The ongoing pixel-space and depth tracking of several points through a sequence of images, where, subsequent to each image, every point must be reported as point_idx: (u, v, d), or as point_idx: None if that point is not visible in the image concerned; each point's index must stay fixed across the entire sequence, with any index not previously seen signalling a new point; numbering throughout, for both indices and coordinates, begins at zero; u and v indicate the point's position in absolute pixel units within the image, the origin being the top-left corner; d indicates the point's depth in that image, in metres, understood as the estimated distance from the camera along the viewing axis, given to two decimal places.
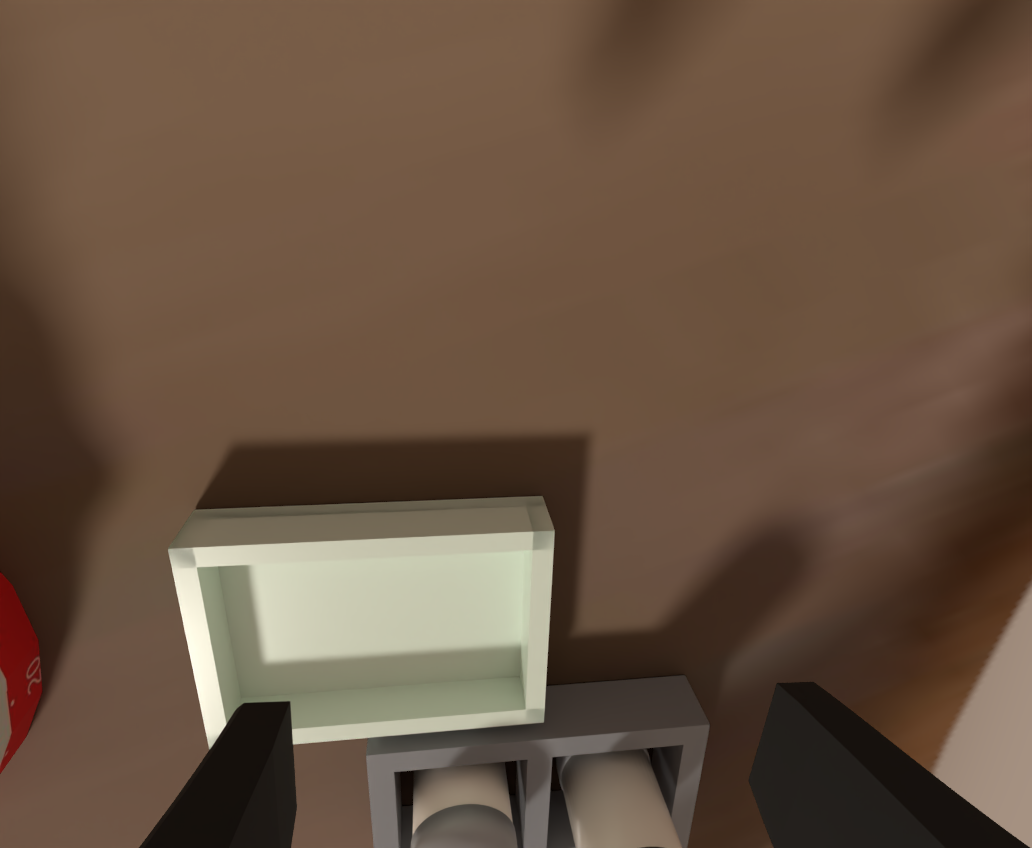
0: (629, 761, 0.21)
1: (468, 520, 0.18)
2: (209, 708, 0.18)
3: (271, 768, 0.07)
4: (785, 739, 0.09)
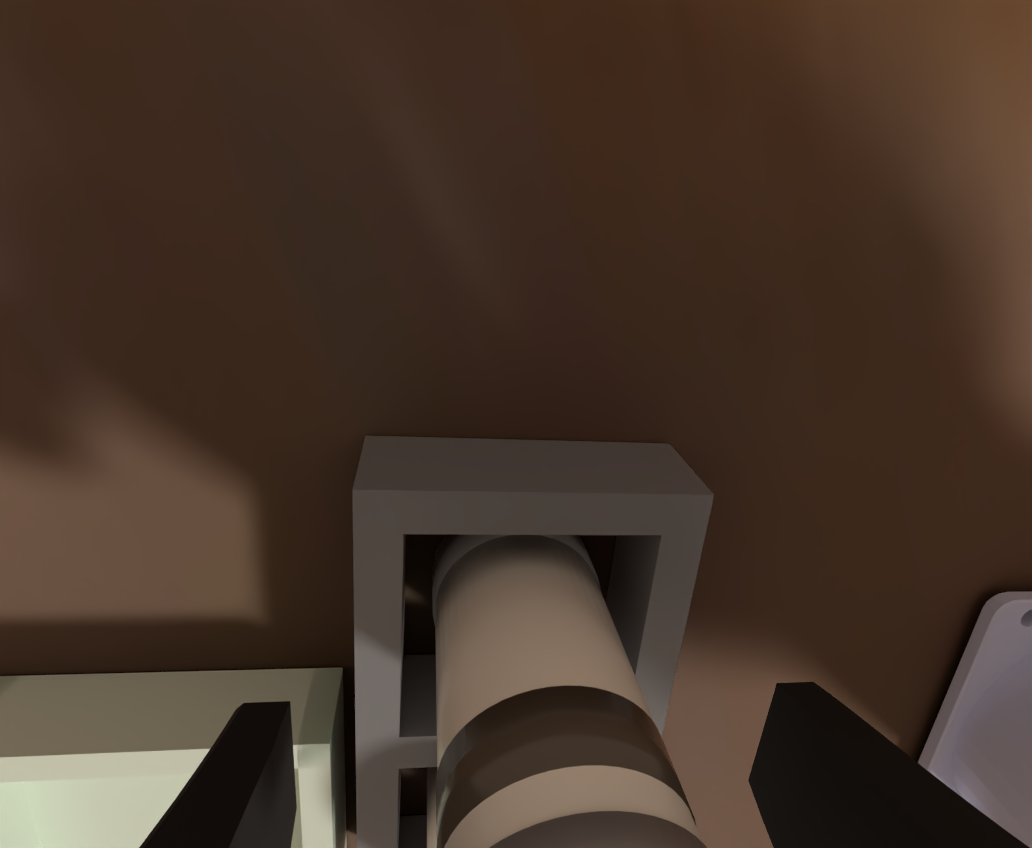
0: (442, 615, 0.11)
1: None
2: None
3: (271, 768, 0.07)
4: (785, 739, 0.09)
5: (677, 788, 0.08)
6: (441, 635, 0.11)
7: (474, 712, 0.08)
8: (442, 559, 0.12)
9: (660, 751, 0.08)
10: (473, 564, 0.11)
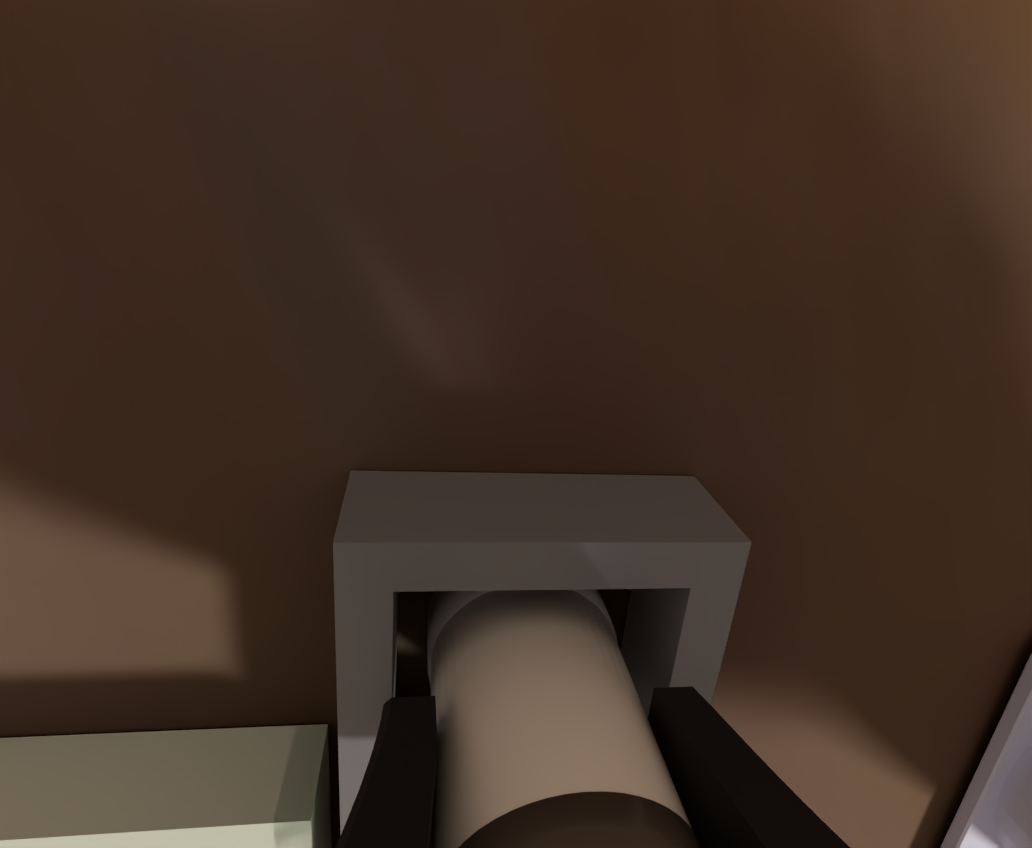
0: (438, 679, 0.10)
1: None
2: None
3: None
4: (660, 746, 0.09)
5: None
6: (437, 706, 0.09)
7: (477, 822, 0.07)
8: (439, 609, 0.11)
9: None
10: (474, 620, 0.10)
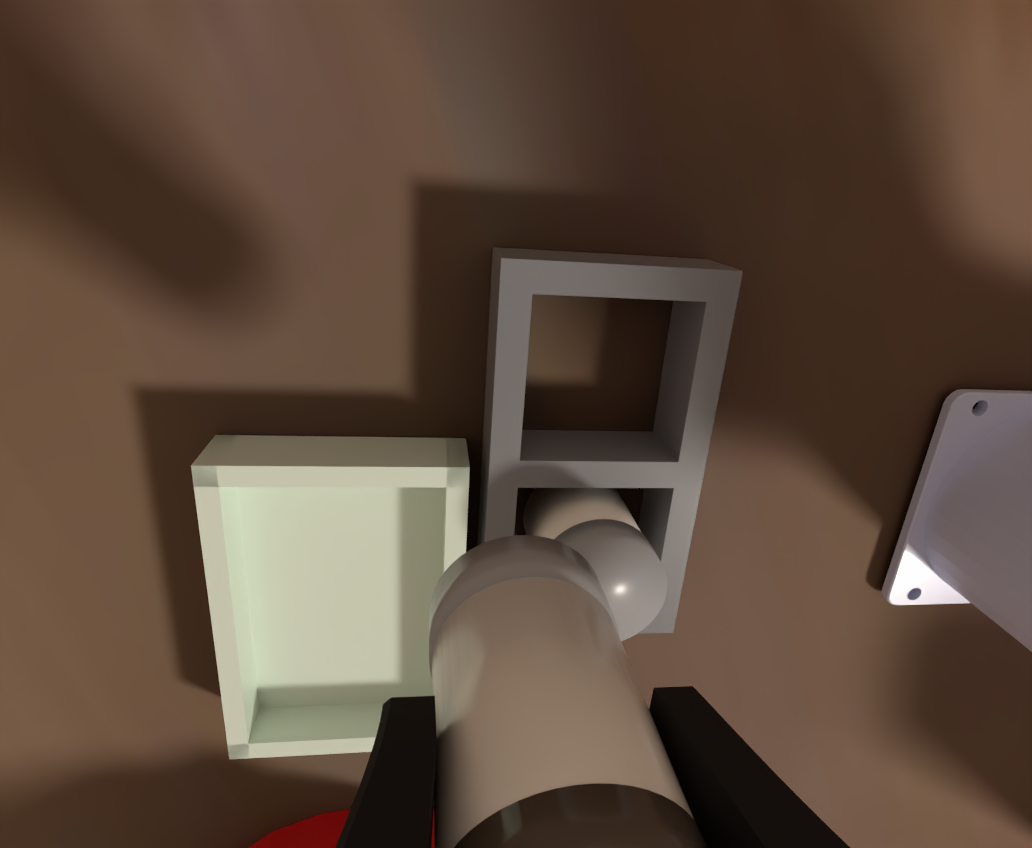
0: (441, 671, 0.10)
1: None
2: None
3: (435, 759, 0.08)
4: None
5: None
6: (440, 697, 0.09)
7: (484, 812, 0.07)
8: (442, 601, 0.11)
9: None
10: (478, 612, 0.10)
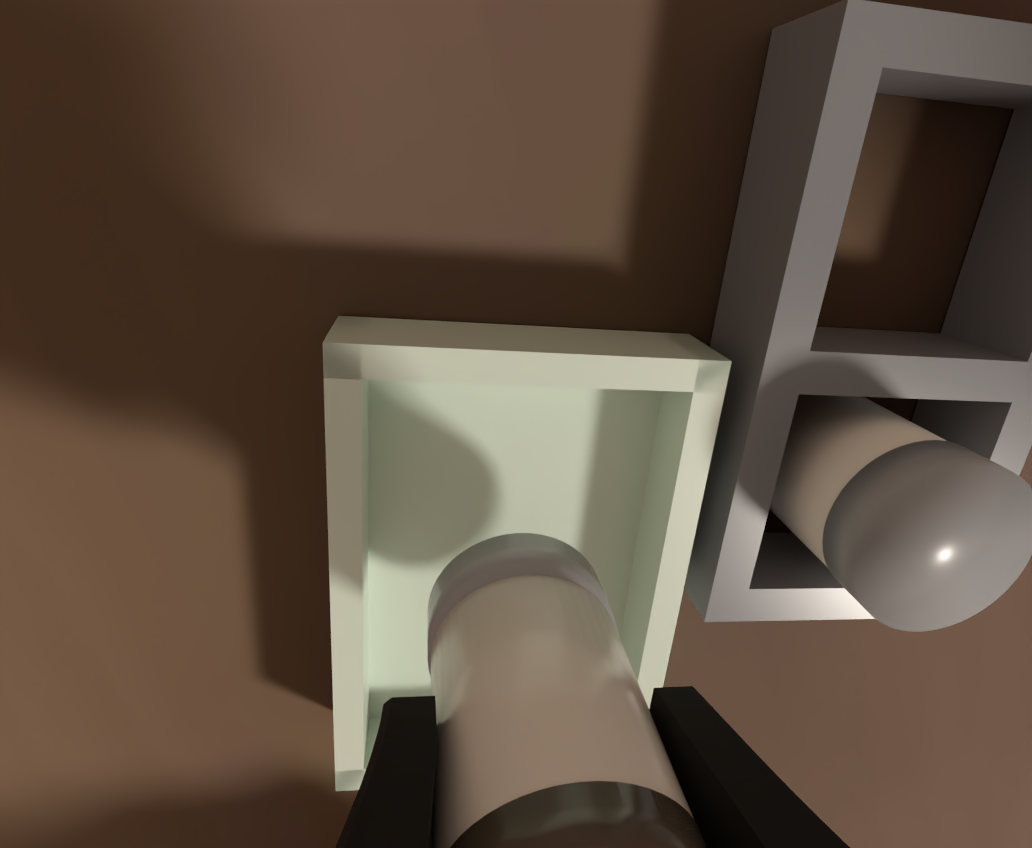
0: (440, 666, 0.10)
1: None
2: None
3: None
4: None
5: None
6: (440, 693, 0.09)
7: (485, 807, 0.07)
8: (442, 597, 0.11)
9: None
10: (480, 608, 0.10)
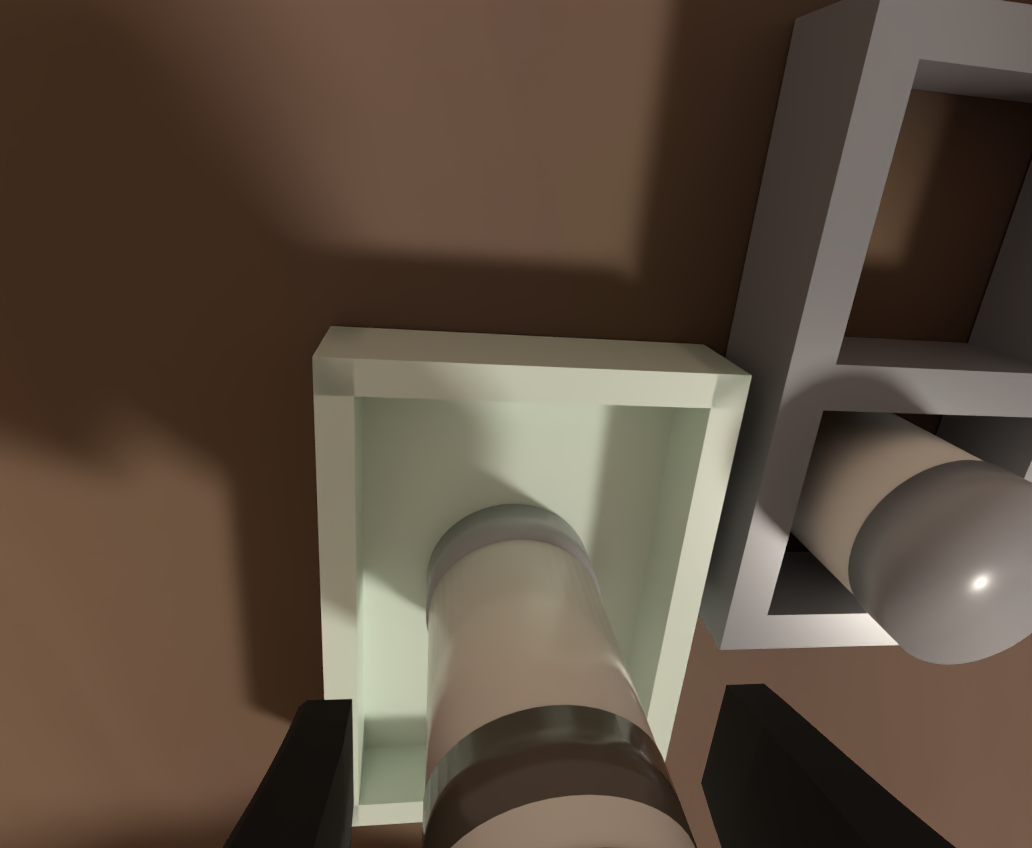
0: (436, 620, 0.11)
1: None
2: None
3: (342, 764, 0.08)
4: (734, 742, 0.09)
5: (684, 823, 0.07)
6: (435, 641, 0.10)
7: (470, 727, 0.08)
8: (439, 560, 0.12)
9: (666, 783, 0.08)
10: (472, 568, 0.11)
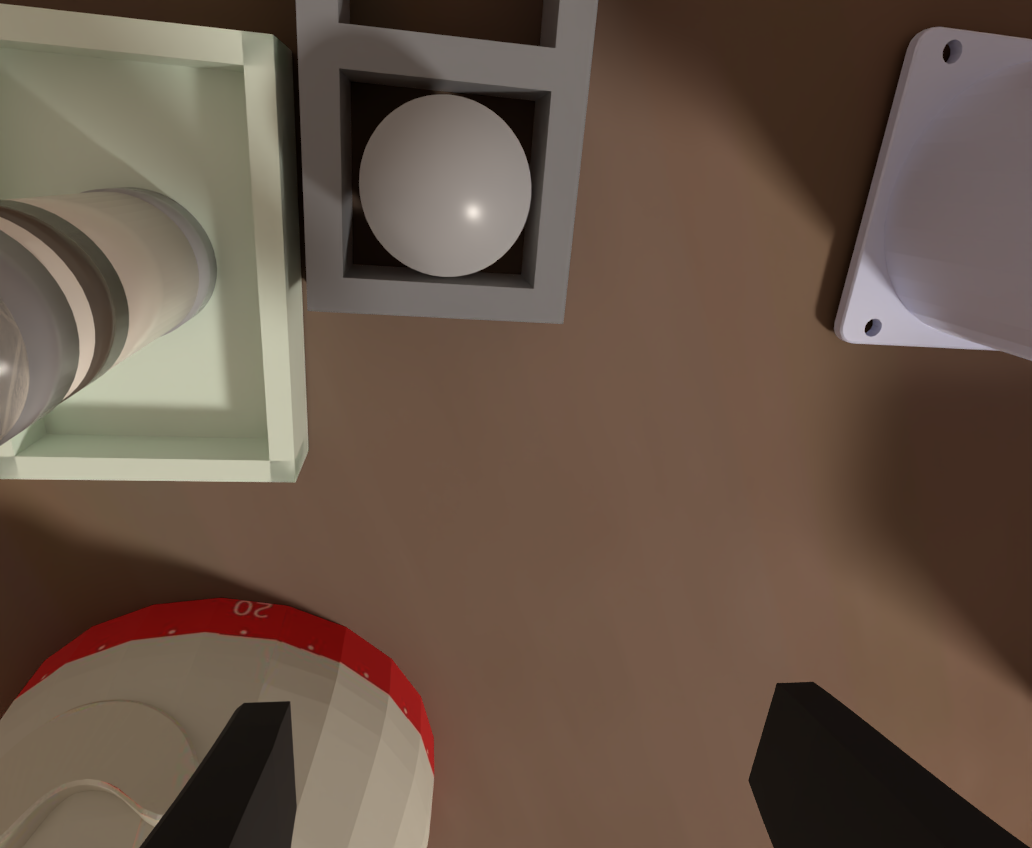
0: None
1: None
2: (227, 474, 0.16)
3: (271, 768, 0.07)
4: (785, 739, 0.09)
5: (64, 256, 0.10)
6: None
7: None
8: None
9: (78, 252, 0.10)
10: None
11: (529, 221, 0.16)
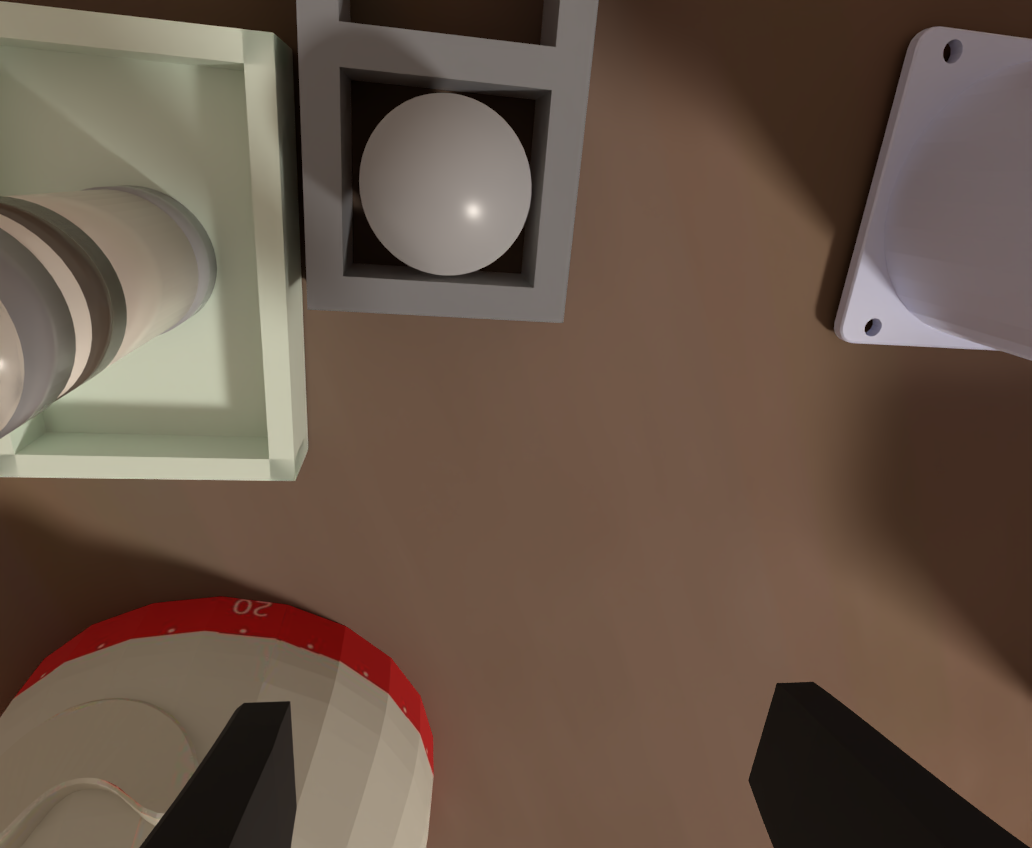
0: None
1: None
2: (227, 472, 0.16)
3: (271, 768, 0.07)
4: (785, 739, 0.09)
5: (61, 253, 0.09)
6: None
7: None
8: None
9: (75, 247, 0.10)
10: None
11: (529, 220, 0.16)
